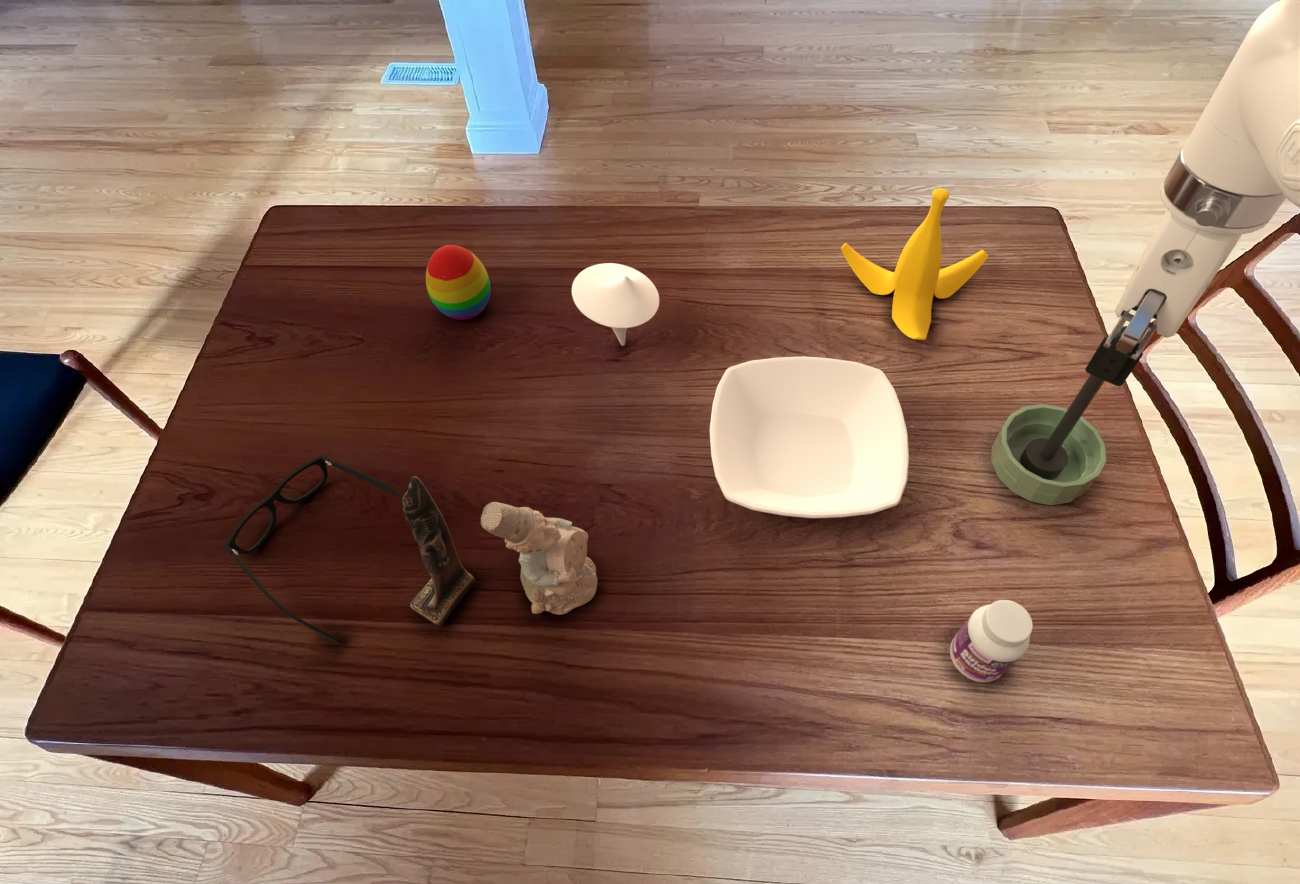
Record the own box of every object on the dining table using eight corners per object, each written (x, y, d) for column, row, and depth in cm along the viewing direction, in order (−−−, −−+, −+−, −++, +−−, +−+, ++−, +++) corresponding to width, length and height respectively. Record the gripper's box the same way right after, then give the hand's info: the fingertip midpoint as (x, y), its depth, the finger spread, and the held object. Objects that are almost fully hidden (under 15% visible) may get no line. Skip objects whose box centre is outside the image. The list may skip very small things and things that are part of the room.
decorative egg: (502, 286, 110) (486, 230, 102) (486, 330, 105) (468, 274, 97) (446, 282, 111) (425, 226, 103) (428, 325, 107) (405, 270, 98)
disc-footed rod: (1067, 460, 89) (1162, 327, 71) (1051, 487, 87) (1144, 357, 69) (1029, 441, 91) (1112, 306, 72) (1013, 467, 89) (1093, 335, 71)
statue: (411, 611, 83) (339, 520, 67) (453, 558, 87) (395, 459, 70) (441, 630, 82) (376, 542, 65) (483, 575, 85) (431, 478, 69)
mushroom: (658, 310, 106) (654, 241, 96) (665, 373, 100) (661, 306, 90) (581, 317, 106) (569, 249, 96) (583, 380, 100) (570, 314, 90)
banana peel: (837, 260, 109) (857, 156, 96) (980, 268, 107) (1021, 162, 93) (836, 351, 100) (858, 250, 86) (992, 361, 98) (1040, 260, 84)
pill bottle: (946, 675, 77) (974, 640, 69) (951, 624, 79) (979, 585, 71) (1004, 691, 76) (1040, 657, 68) (1007, 639, 78) (1042, 600, 70)
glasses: (339, 465, 95) (321, 440, 91) (444, 533, 88) (430, 510, 84) (229, 570, 88) (205, 549, 84) (334, 653, 81) (313, 635, 77)
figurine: (509, 616, 82) (461, 525, 66) (529, 544, 87) (489, 442, 71) (592, 628, 81) (564, 539, 65) (608, 554, 86) (586, 453, 69)
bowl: (909, 543, 85) (920, 519, 80) (707, 536, 86) (707, 513, 82) (888, 384, 97) (897, 356, 92) (711, 381, 99) (711, 354, 94)
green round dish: (1103, 457, 89) (1121, 434, 86) (1066, 524, 85) (1083, 503, 81) (1013, 413, 93) (1026, 389, 90) (973, 474, 89) (985, 452, 85)
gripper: (1245, 273, 52) (1131, 425, 66) (1313, 142, 60) (1198, 304, 74) (1129, 231, 55) (1043, 385, 69) (1208, 110, 63) (1116, 272, 77)
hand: (1123, 343), depth 72 cm, fingers open, 9 cm apart
